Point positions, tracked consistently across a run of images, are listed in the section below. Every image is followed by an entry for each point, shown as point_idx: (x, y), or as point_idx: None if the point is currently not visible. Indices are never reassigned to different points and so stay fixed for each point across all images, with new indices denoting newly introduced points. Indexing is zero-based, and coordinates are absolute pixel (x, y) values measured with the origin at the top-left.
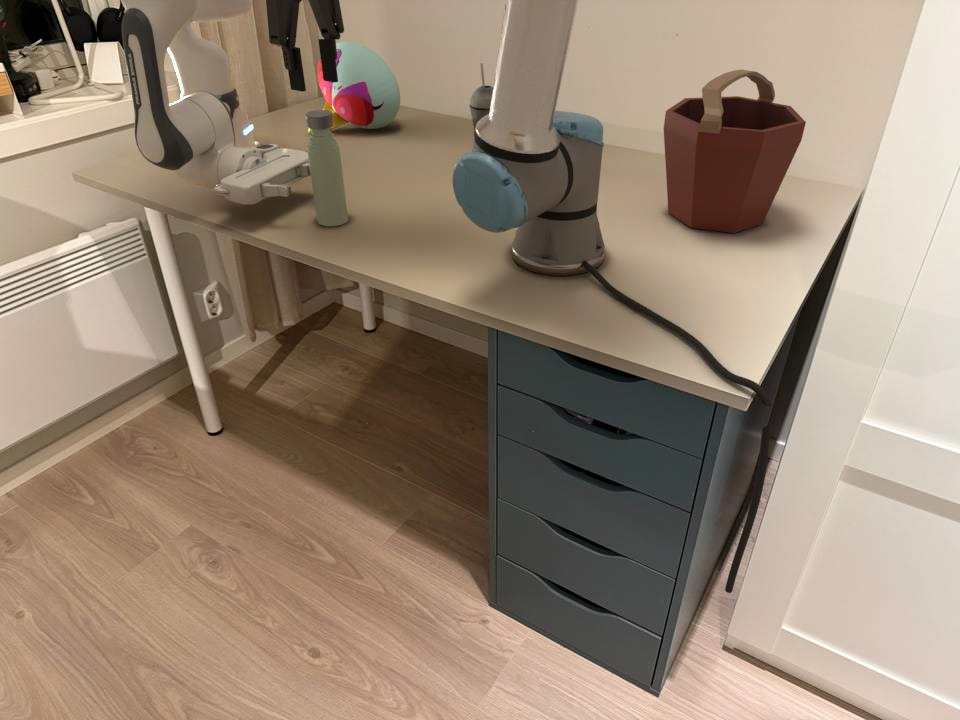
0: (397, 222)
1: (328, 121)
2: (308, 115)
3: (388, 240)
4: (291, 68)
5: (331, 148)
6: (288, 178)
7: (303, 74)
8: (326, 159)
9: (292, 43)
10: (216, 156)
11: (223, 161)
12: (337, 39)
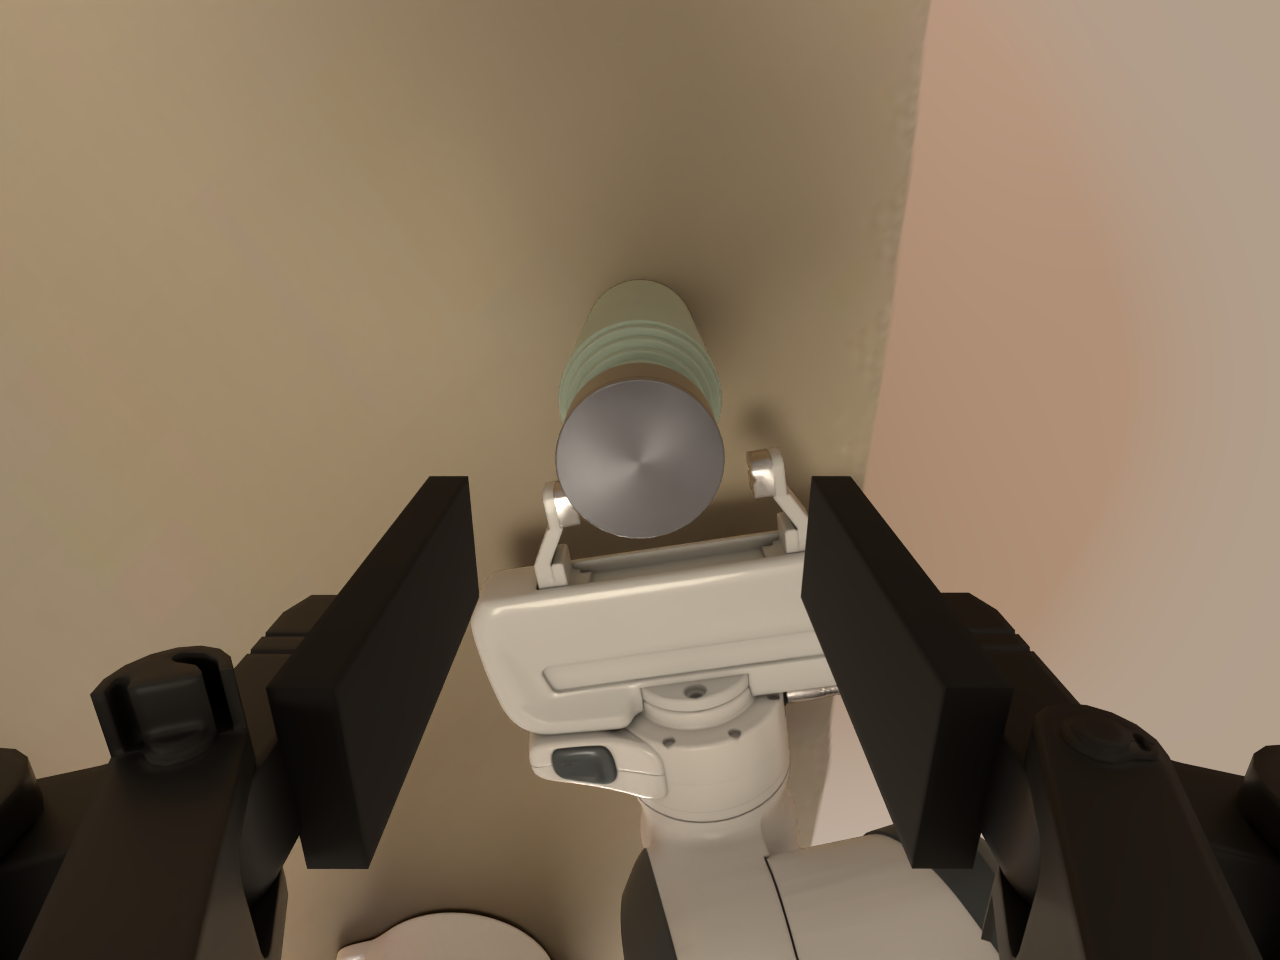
0: (511, 104)
1: (642, 371)
2: (710, 481)
3: (663, 8)
4: (981, 603)
5: (656, 329)
6: (639, 571)
7: (850, 530)
8: (689, 331)
9: (1120, 741)
10: (768, 812)
11: (776, 770)
12: (212, 649)
